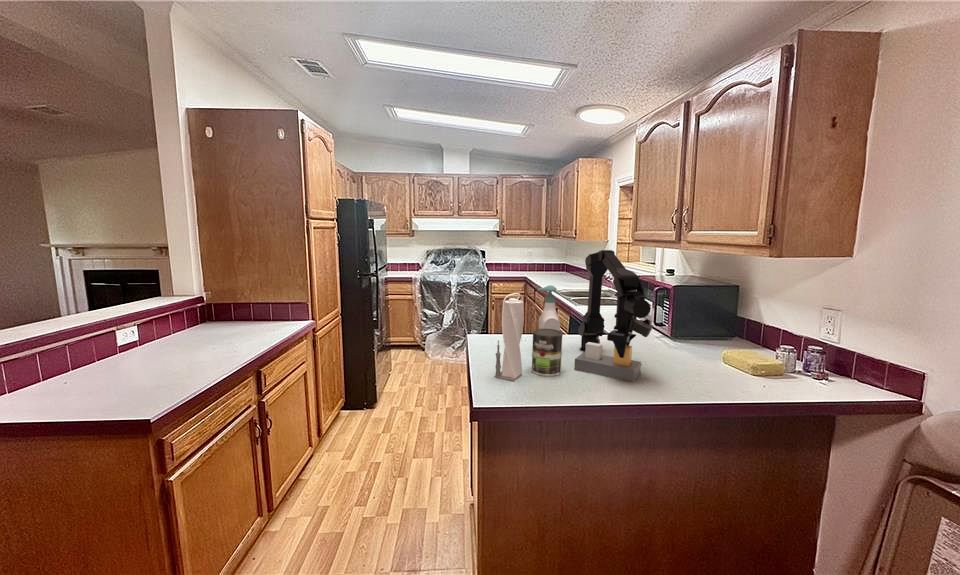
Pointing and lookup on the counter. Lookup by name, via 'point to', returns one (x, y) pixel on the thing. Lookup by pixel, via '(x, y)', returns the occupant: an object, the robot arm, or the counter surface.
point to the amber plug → (626, 359)
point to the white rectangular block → (593, 351)
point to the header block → (608, 367)
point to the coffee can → (547, 352)
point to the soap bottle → (549, 311)
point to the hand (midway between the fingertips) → (622, 356)
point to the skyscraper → (511, 339)
